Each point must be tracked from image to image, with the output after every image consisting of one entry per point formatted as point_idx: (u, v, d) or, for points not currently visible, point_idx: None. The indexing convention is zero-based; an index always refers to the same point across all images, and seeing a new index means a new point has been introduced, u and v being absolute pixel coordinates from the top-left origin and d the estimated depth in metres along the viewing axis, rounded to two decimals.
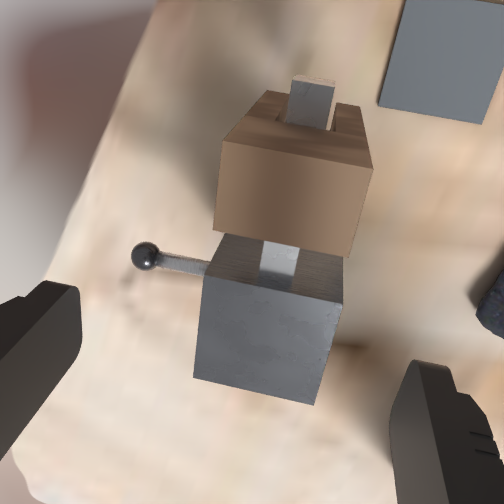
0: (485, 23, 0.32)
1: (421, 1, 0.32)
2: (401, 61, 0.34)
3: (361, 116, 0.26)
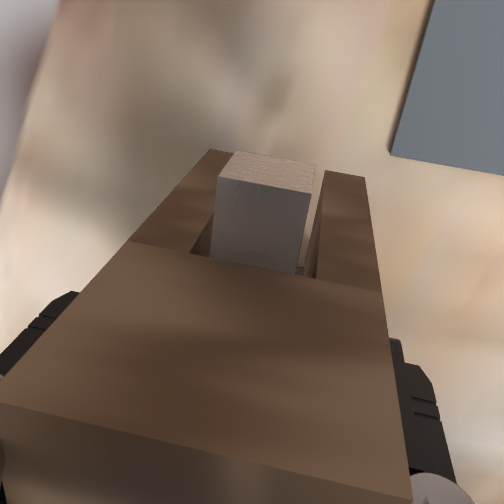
0: None
1: None
2: (426, 91, 0.22)
3: (368, 208, 0.15)
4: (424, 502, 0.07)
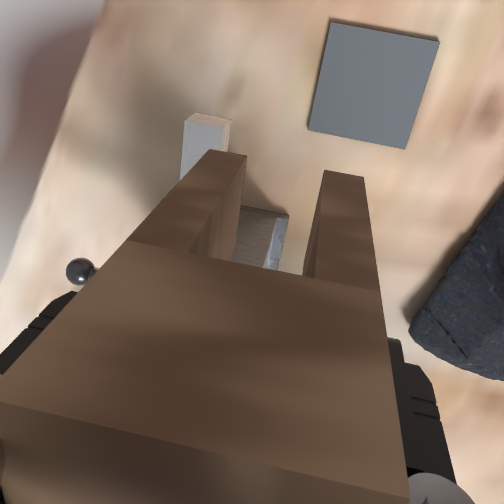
0: (403, 55, 0.34)
1: (343, 33, 0.34)
2: (327, 88, 0.36)
3: (367, 207, 0.15)
4: (424, 502, 0.07)
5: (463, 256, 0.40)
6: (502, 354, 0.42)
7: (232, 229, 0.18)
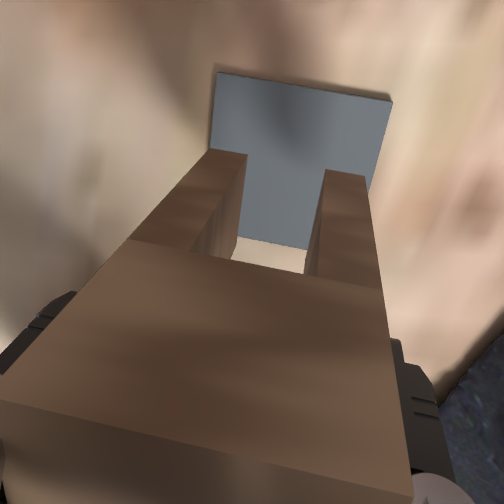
0: (335, 123, 0.21)
1: (237, 89, 0.21)
2: None
3: (368, 206, 0.15)
4: (424, 502, 0.07)
5: (448, 408, 0.27)
6: None
7: (233, 228, 0.18)
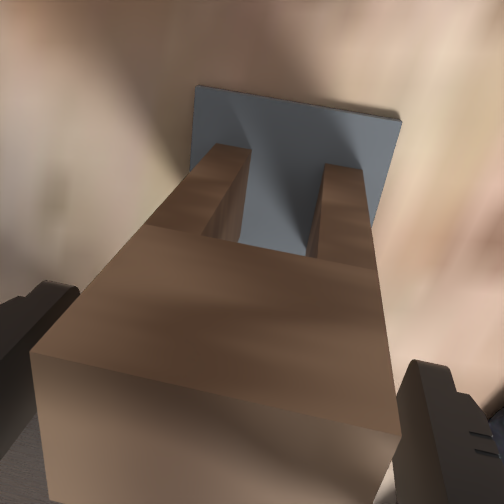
0: (334, 144, 0.18)
1: (219, 106, 0.18)
2: None
3: (365, 197, 0.16)
4: None
5: None
6: None
7: (238, 219, 0.19)
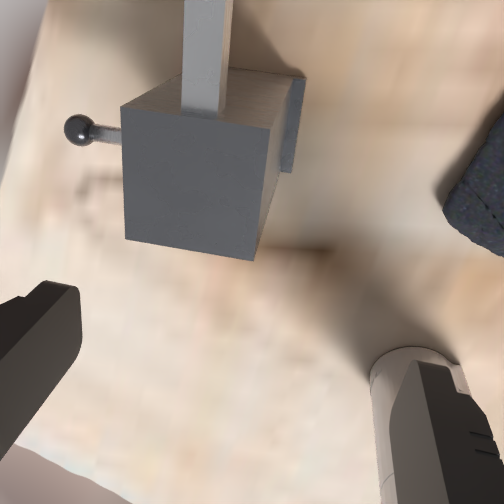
0: None
1: None
2: None
3: None
4: None
5: None
6: None
7: None
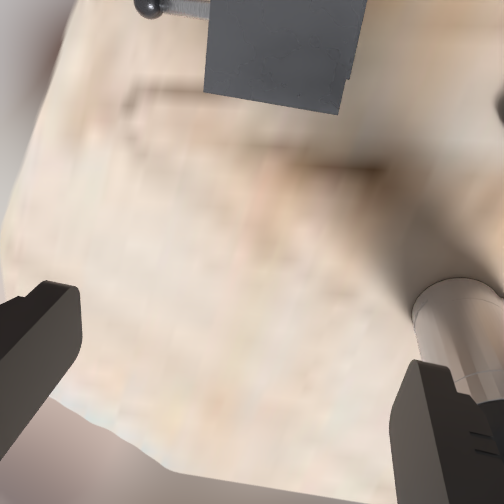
0: None
1: None
2: None
3: None
4: None
5: None
6: None
7: None
